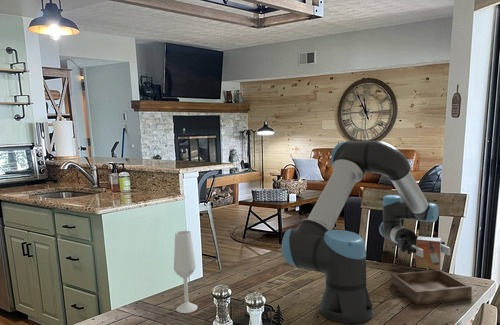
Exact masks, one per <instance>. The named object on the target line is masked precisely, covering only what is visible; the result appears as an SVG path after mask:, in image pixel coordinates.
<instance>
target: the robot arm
mask: <svg viewBox="0 0 500 325" xmlns="http://www.w3.org/2000/svg"><path fill="white" fill-rule="evenodd" d="M330 155H331V157H330V164H331V168H332V173H331V175H330V177H329V179H328V180H327V183H326V184H325V186H324V188H323V190H322V191H321V193H320V195H319V197H318V199H317V201H316V203H315V204H314V206H313V208H312V209H311V212H310V213H309V215H308V217H307V218H303V219H301V221H300V222H299V224H298V225H297V227H296V228H295V227H293V228H289V229H287V230H286V231H285V233H284V234H283V237H282V241H281V253H282V256H283V258H284V261H285V262H286V263H287V264H288V265H291V266H293V267H295V268H298V269H304V270H308V271H309V270H310V271H313V272H318V273H322V274H325V287H324V289H323V290H324V291H323V293H322V297H321V298H320V299H321V300H320V304H319V306H320V310H319V311H320V313H321V315H322V316H323V317H325V318H326V319H328V320H330V321H333V322H335V323H340V324H341V323H342V324H351V325H352V324H353V325H354V324H360V323H365V322H367V321H369V320H371V319H372V318H373V317H374V305H373V302H372V299H371V296H370V293H369V291H368V288H367V250H366V241H365V240H364V238H363V237H362V236H361V235H359V234H358V233H356V232H353V231H348V230H344V229H341V230H340V229H333V228H334V227H335V224H336V222H337V220H338V218H339V216H340V214H341V212H342V210H343V208H344V206H345V204H346V202H347V200H348V198H349V197H350V194H351V193H352V190H353V189H354V186H355V184H356V183H359V182H361V181H362V179H363V178H364V175H365V174H379V175H383V176H384V177H385V178H386V179H387V180H388V181H390V182H391V183H392V184H393V186H394V188H395V189H396V191H397V192H398V194H399V195H397V194H388V195H387V194H386V195H384V196H383V198H382V222H381V223H380V225H379V226H378V232H379V234H380V235H381V236H382V237H383V238H385V239H386V240H388V239H389V240H388V241H390V242H393V243H394V246H397V247H398V249H399V250H400V252H403V253H405V252H406V251H407V252H406V253H407V254H408V255H411V254H414V255H418V256H420V257H423V249H421V248H419V247H417V246H416V243H417V238H418V236H419V235H417V234H416V233H415V232H414V231H413V230H411V229H409V228H407V227H404V226H403V225H402V220H411V221H417V222H418V221H419V222H424V223H425V222H426V223H435V222H436V221H438V218H439V214H440V213H439V212H440V211H439V206H438V204H435V203H432V202H428V201H427V198H426V197H425V195H424V193H423V191H422V190H421V188H420V186H419V184H418V183H417V181H416V179H415V177H414V175H413V174H412V172H411V164H410V162H409V160H408V158H406V156H405V155H404V154H403V153H402V152H401V151H400V150H399V149H398V148H396V147H395V146H393V145H392V144H389V143H387V142H385V141H381V140H354V141H353V140H347V141H341V142H339V143H337V144H336V145H335V146H334V148H333V149H332V151H331V154H330ZM425 237H428V236H425ZM442 253H443V254H445V255H447V256H451V247H449V246H447V245H446V242H445V241H442V240H441V254H442Z"/></svg>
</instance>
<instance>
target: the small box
mask: <svg viewBox="0 0 500 325" xmlns="http://www.w3.org/2000/svg"><path fill="white" fill-rule="evenodd" d="M417 236H418V238H417V243H416V246H417V247H419V248H421V249H423V257H420V256H418V255H416V254H415V255H416V257H415V261H416V262H415V264H416V266H415V267H416V268H420V269H426V270H441V267H442V252H441V241H442V238H441V237H429V236H427V237H426V236H419V235H417Z"/></svg>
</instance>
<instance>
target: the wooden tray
mask: <svg viewBox="0 0 500 325" xmlns="http://www.w3.org/2000/svg"><path fill="white" fill-rule="evenodd" d="M390 279H391V280H390V281H391V282H390V283H391V284H390V285H391V287H392V288H394V289H395V290H397V291H398V292H399V293H401V295H403V296H404V297H406V299H408V300H409V301H411V302H412V303H414V304H415V305H416V306H420V305H421V306H422V305H430V304H441V303H450V302H462V301H470V300H472V299H473V296H472V292H473V291H472V290H473V289H472V288H473V287H472V286H471V285H469V284H467V283H466V282H463V281H462V280H461V279H458V278H457V277H455V276H453V275H452V274H449V273H448V272H445V271H443V270H442V269H440V270H433V269H430V270H423V271H420V270H419V271H410V272H400V273H398V272H397V273H391V274H390Z"/></svg>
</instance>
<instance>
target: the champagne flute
mask: <svg viewBox="0 0 500 325" xmlns="http://www.w3.org/2000/svg"><path fill="white" fill-rule="evenodd" d="M192 239H193V238H192V232H191V231H189V230H181V231H176V232H175V233H174V251H173V252H174V256H173V257H174V258H173V270H174V272H175V273H176V275H177V276H179V277H180V278H182V279H183V293H184V296H183V297H184V302H183V303H181V304H180V305H178V306H177V307H176V309H175V311H176V312H178V313H181V314H188V313H192V312H195V311H196V310H198V307H199V306H198V305H197V304H194V303H192V302H189V287H188V285H189V284H188V278H189V277H190V276H192V274H193V273H194V272H195V270H196V260H195V253H194V247H193V241H192Z"/></svg>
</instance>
